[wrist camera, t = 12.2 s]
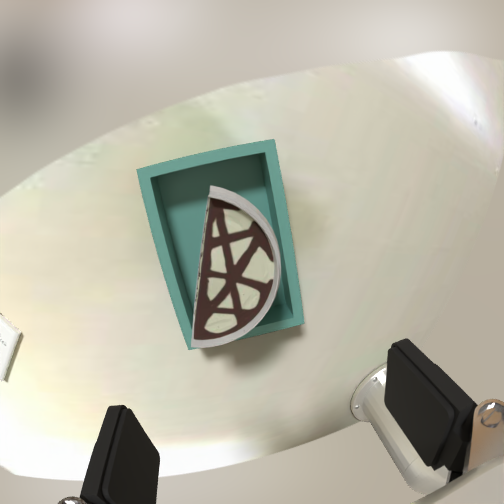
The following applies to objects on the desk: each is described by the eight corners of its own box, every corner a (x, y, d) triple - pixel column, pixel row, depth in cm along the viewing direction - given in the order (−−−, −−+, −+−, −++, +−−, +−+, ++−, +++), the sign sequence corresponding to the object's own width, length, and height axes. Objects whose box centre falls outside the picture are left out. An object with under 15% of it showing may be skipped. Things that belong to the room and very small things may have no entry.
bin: (264, 142, 29) (274, 138, 25) (293, 304, 34) (304, 323, 30) (146, 168, 28) (136, 169, 24) (190, 328, 34) (188, 350, 29)
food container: (251, 305, 33) (269, 359, 23) (194, 299, 32) (190, 353, 22) (272, 189, 30) (303, 202, 20) (210, 180, 28) (210, 187, 19)
